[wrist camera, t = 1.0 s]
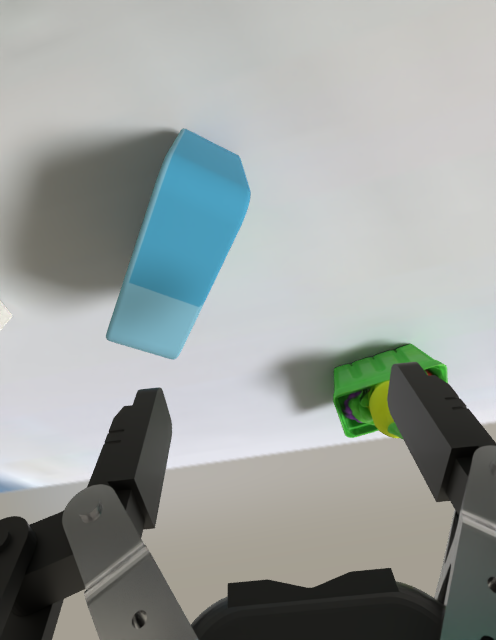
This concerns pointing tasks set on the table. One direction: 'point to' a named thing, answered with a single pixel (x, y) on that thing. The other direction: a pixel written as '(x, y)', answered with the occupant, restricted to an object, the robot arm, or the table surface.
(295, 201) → the table surface
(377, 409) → the fruit basket
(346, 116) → the table surface
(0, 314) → the large crate
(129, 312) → the blue rounded block
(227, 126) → the table surface
